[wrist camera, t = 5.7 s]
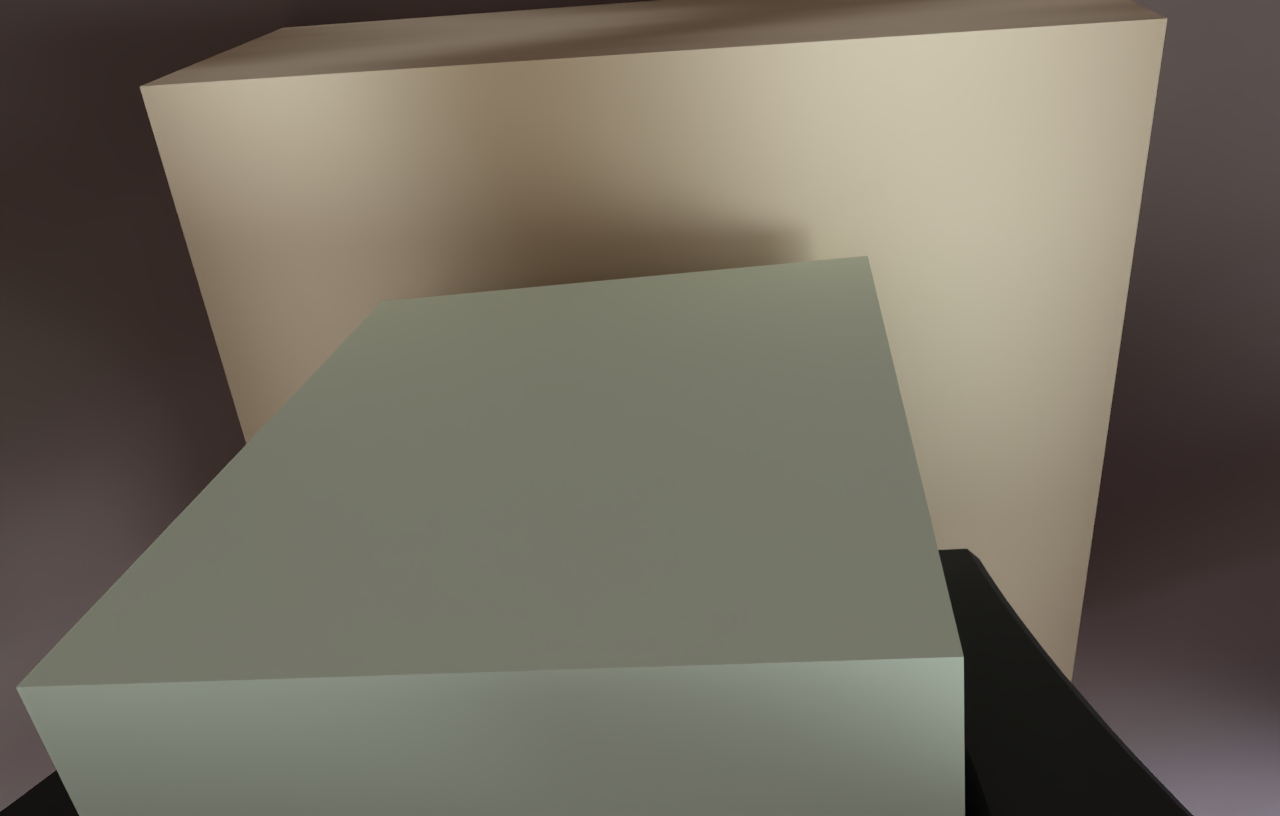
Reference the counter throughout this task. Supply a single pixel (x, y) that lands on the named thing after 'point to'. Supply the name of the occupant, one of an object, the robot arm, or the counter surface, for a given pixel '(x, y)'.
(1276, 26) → the counter surface
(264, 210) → the birch base
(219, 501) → the sage block
